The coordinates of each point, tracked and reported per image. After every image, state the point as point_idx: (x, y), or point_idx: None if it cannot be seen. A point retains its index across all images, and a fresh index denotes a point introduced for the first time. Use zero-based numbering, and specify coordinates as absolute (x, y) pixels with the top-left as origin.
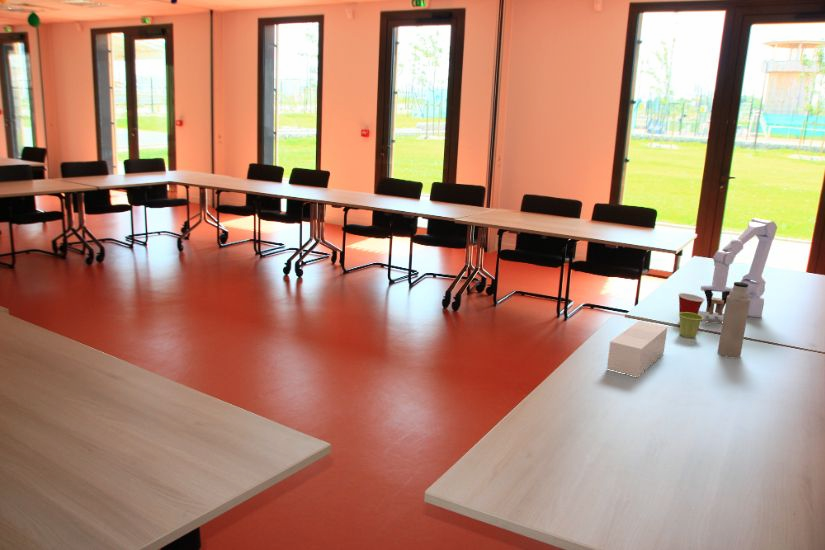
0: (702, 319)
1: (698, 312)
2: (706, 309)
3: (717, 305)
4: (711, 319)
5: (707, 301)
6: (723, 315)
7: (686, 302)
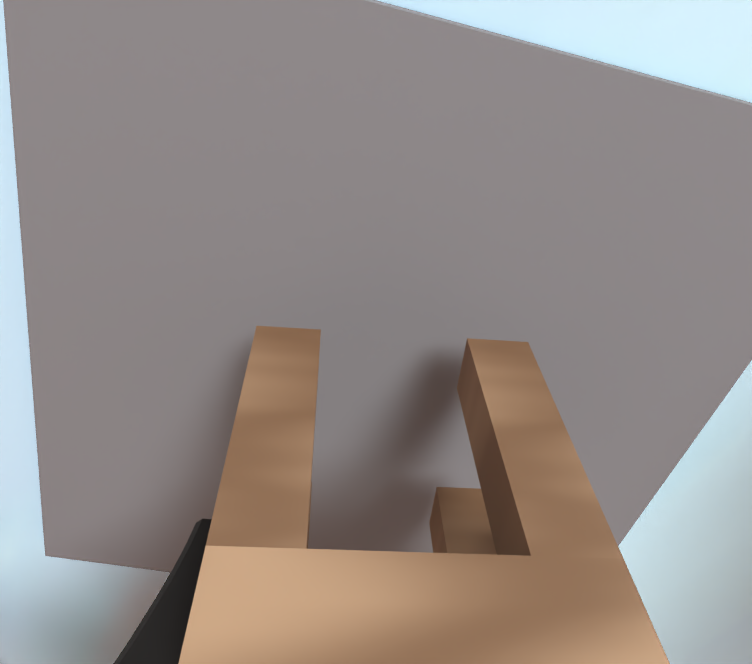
0: (125, 523)
1: (154, 119)
2: (250, 369)
3: (497, 523)
4: None
5: (151, 645)
6: (675, 267)
7: None
